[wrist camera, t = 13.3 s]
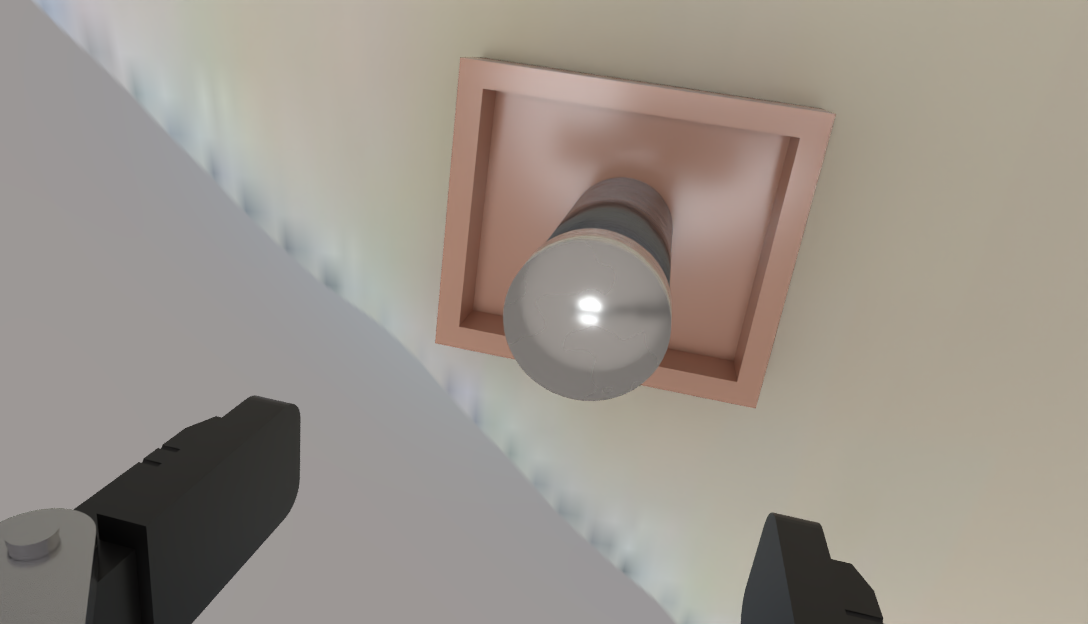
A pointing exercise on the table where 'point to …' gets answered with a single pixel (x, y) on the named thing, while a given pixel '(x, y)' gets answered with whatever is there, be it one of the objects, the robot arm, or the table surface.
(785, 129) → the tray
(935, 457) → the table surface
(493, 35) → the table surface
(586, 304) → the shaker
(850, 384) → the table surface
